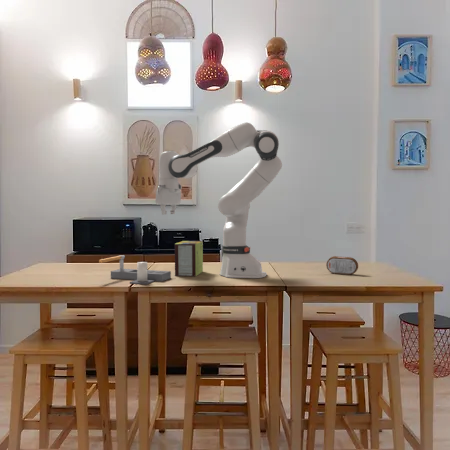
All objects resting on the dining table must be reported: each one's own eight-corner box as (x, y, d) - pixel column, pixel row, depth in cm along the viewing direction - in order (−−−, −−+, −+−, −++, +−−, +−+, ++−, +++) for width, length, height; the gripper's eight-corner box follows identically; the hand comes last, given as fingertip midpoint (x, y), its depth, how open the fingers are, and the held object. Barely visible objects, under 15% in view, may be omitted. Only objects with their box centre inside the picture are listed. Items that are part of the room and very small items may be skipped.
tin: (358, 274, 210) (358, 257, 210) (357, 275, 207) (357, 258, 207) (327, 272, 216) (327, 255, 216) (325, 273, 213) (325, 256, 213)
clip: (103, 262, 187) (103, 260, 187) (97, 262, 188) (97, 259, 188) (126, 258, 203) (126, 255, 203) (120, 257, 204) (120, 255, 204)
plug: (149, 280, 191) (149, 262, 190) (144, 281, 186) (144, 263, 186) (140, 279, 192) (140, 261, 192) (135, 281, 188) (135, 262, 187)
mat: (155, 281, 191) (155, 280, 191) (146, 284, 184) (146, 283, 184) (139, 280, 194) (139, 278, 194) (129, 283, 186) (129, 282, 186)
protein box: (203, 271, 219) (203, 241, 218) (195, 276, 204) (195, 243, 203) (182, 271, 221) (182, 240, 220) (174, 276, 206) (174, 243, 205)
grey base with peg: (170, 278, 200) (170, 259, 199) (161, 281, 191) (161, 262, 191) (121, 275, 208) (121, 257, 207) (110, 278, 199) (110, 259, 199)
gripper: (164, 184, 196) (164, 214, 197) (183, 186, 216) (183, 213, 216) (152, 184, 198) (152, 214, 199) (171, 186, 217) (171, 213, 218)
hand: (168, 214), depth 208 cm, fingers open, 8 cm apart
